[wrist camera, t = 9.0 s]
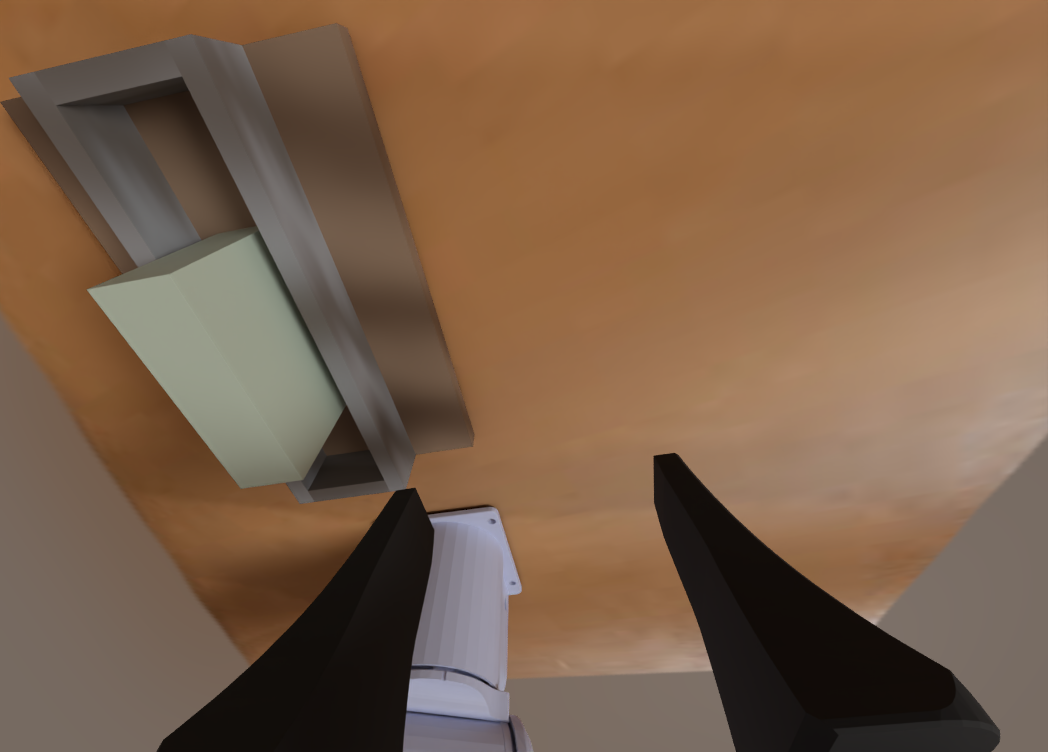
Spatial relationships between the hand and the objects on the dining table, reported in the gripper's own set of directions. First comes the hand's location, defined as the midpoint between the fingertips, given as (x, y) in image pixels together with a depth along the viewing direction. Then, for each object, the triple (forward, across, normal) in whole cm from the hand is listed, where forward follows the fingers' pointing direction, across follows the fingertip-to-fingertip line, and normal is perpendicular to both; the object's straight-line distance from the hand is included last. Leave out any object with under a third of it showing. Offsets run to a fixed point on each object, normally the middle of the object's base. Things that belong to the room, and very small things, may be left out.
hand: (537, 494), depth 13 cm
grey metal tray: (+9, +10, -4) cm, 14 cm away
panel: (+8, +10, -4) cm, 14 cm away
